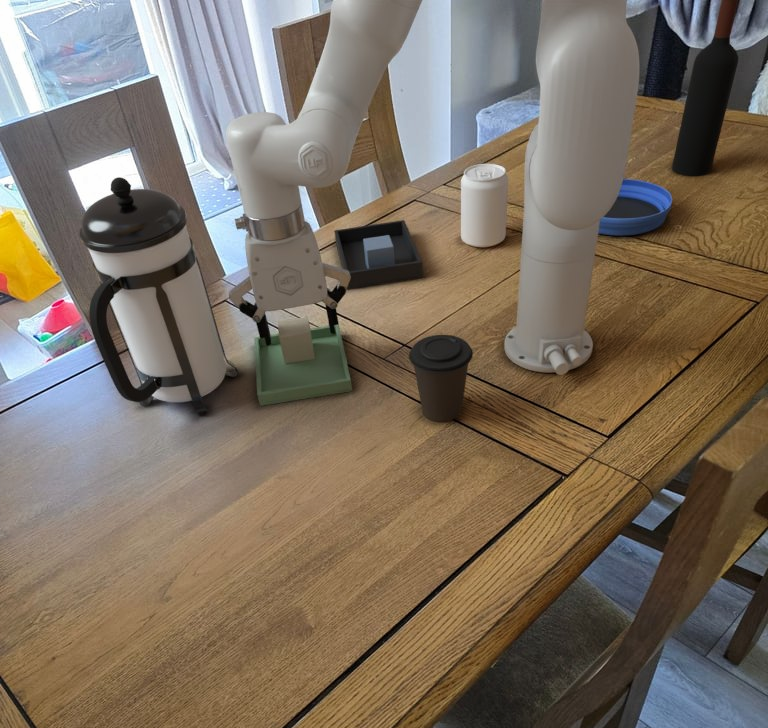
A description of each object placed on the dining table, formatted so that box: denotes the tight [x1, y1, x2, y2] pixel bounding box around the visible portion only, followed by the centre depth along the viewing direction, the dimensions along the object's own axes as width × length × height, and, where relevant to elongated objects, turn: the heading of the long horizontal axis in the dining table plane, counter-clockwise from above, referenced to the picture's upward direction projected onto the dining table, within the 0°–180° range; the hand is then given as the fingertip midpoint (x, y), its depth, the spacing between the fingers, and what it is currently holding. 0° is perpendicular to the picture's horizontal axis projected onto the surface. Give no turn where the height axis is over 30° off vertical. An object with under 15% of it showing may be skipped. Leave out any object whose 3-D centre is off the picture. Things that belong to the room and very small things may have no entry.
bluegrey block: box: [363, 235, 395, 269], centre depth 121 cm, size 5×5×5 cm
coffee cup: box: [408, 334, 474, 423], centre depth 90 cm, size 8×8×10 cm
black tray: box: [334, 219, 424, 290], centre depth 124 cm, size 17×13×3 cm
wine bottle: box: [671, 0, 739, 177], centre depth 131 cm, size 8×8×30 cm
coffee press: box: [79, 177, 239, 416], centre depth 90 cm, size 17×16×30 cm
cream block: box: [277, 316, 315, 364], centre depth 104 cm, size 5×5×5 cm
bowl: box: [598, 178, 673, 237], centre depth 128 cm, size 18×18×4 cm
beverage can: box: [460, 163, 509, 248], centre depth 123 cm, size 8×8×12 cm
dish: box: [253, 324, 353, 407], centre depth 103 cm, size 15×13×2 cm
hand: (300, 334), depth 103 cm, fingers open, 9 cm apart
